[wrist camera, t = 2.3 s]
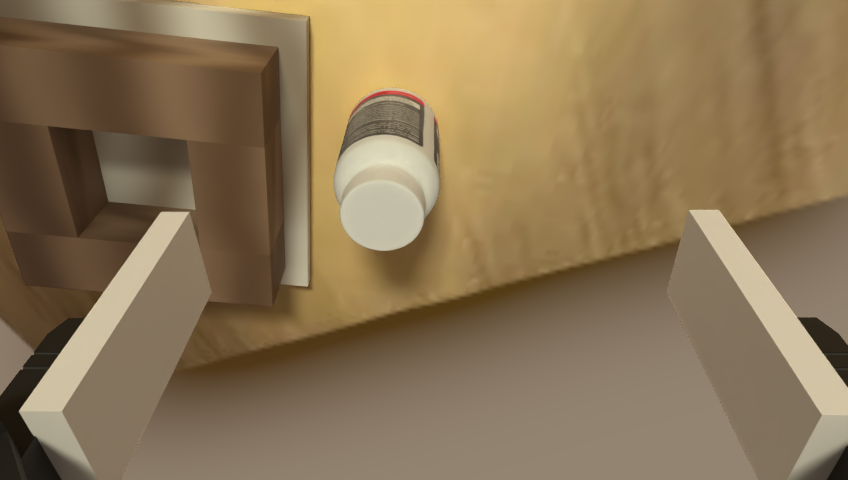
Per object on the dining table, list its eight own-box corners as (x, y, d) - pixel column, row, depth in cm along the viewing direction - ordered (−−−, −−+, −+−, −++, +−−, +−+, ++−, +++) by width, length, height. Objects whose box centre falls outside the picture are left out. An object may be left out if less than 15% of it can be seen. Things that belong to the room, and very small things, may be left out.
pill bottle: (329, 125, 36) (300, 213, 28) (395, 65, 34) (382, 142, 26) (393, 184, 38) (382, 281, 30) (457, 131, 36) (464, 221, 28)
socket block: (48, 253, 42) (7, 301, 38) (-38, -23, 32) (-108, 1, 28) (310, 277, 43) (297, 326, 39) (309, 16, 32) (291, 45, 28)
